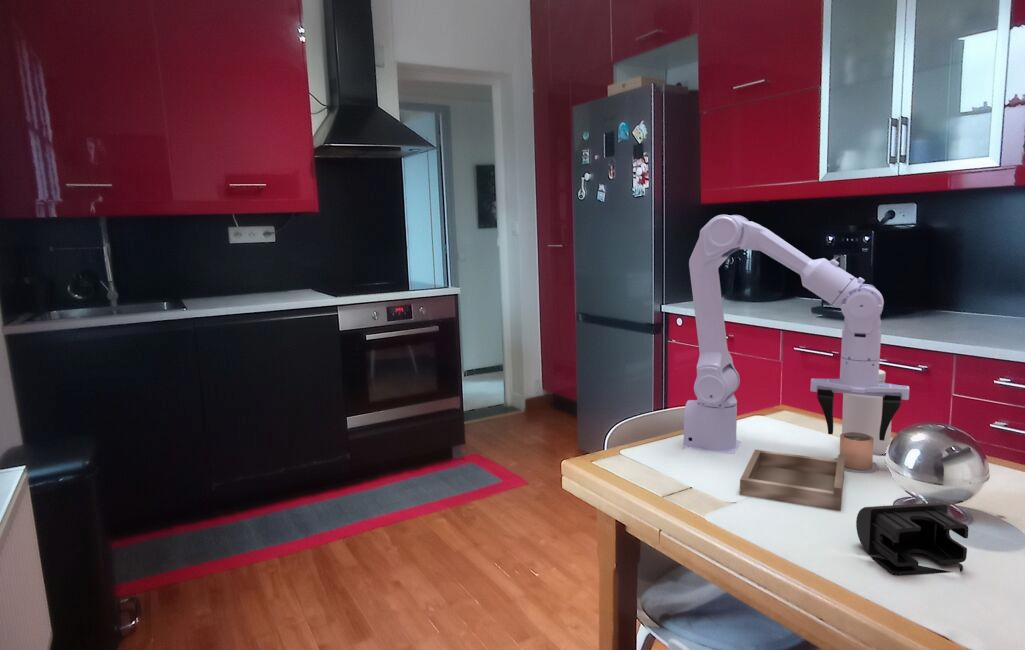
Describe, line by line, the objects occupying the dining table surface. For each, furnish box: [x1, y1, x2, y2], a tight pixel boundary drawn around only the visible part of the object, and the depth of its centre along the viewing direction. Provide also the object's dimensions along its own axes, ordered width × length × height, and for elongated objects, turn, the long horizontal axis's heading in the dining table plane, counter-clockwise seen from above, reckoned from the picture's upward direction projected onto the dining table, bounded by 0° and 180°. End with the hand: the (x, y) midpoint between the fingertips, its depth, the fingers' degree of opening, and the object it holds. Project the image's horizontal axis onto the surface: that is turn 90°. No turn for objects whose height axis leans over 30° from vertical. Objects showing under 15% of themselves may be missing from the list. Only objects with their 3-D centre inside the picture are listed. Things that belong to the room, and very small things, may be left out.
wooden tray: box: [739, 449, 845, 512], centre depth 101 cm, size 14×15×4 cm
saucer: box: [832, 457, 879, 474], centre depth 109 cm, size 7×7×1 cm
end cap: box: [855, 502, 969, 577], centre depth 79 cm, size 10×7×7 cm
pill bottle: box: [841, 369, 892, 456], centre depth 117 cm, size 8×8×15 cm
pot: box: [838, 432, 874, 470], centre depth 108 cm, size 5×5×5 cm
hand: (855, 435), depth 108 cm, fingers open, 7 cm apart
